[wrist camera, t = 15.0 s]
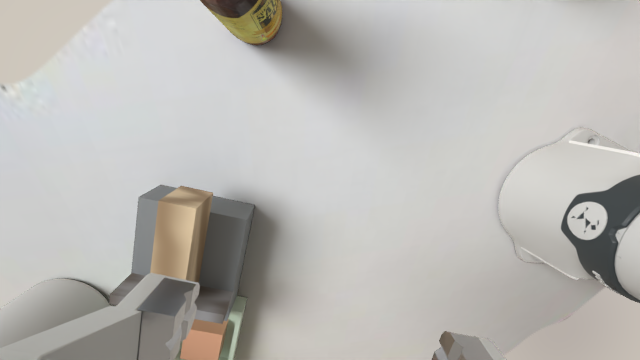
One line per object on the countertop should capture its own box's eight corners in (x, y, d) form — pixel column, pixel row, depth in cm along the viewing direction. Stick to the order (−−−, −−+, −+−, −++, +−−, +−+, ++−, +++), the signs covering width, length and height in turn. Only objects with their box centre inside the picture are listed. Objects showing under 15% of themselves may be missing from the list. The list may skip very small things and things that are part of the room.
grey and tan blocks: (251, 201, 33) (241, 218, 28) (231, 300, 36) (219, 330, 31) (141, 177, 32) (111, 190, 27) (131, 281, 35) (102, 310, 30)
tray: (247, 297, 42) (242, 312, 39) (234, 359, 45) (228, 377, 42) (138, 277, 41) (125, 291, 38) (132, 342, 43) (119, 359, 40)
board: (254, 205, 38) (246, 219, 34) (236, 295, 42) (227, 321, 37) (160, 184, 37) (138, 197, 32) (150, 279, 41) (128, 303, 36)
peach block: (216, 364, 40) (223, 347, 43) (222, 335, 39) (228, 319, 42) (179, 358, 40) (188, 341, 43) (184, 328, 39) (193, 312, 42)
